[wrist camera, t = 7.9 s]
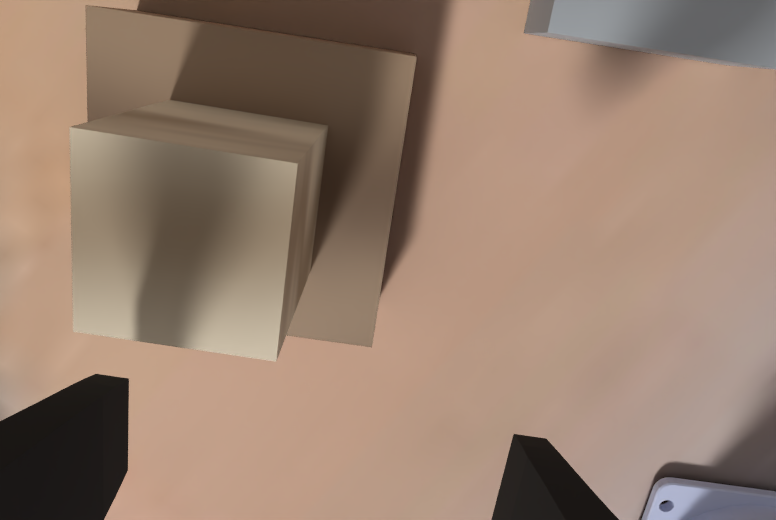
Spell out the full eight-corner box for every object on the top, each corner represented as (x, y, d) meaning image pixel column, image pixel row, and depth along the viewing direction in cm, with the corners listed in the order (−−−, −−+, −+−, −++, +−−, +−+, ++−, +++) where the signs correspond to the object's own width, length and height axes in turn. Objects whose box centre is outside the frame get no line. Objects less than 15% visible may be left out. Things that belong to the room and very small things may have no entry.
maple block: (309, 271, 17) (275, 361, 12) (164, 249, 17) (72, 331, 12) (328, 125, 16) (297, 163, 11) (169, 100, 15) (69, 127, 11)
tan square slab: (375, 304, 21) (371, 347, 18) (133, 270, 20) (91, 308, 17) (413, 53, 18) (416, 56, 15) (135, 10, 18) (85, 5, 15)
